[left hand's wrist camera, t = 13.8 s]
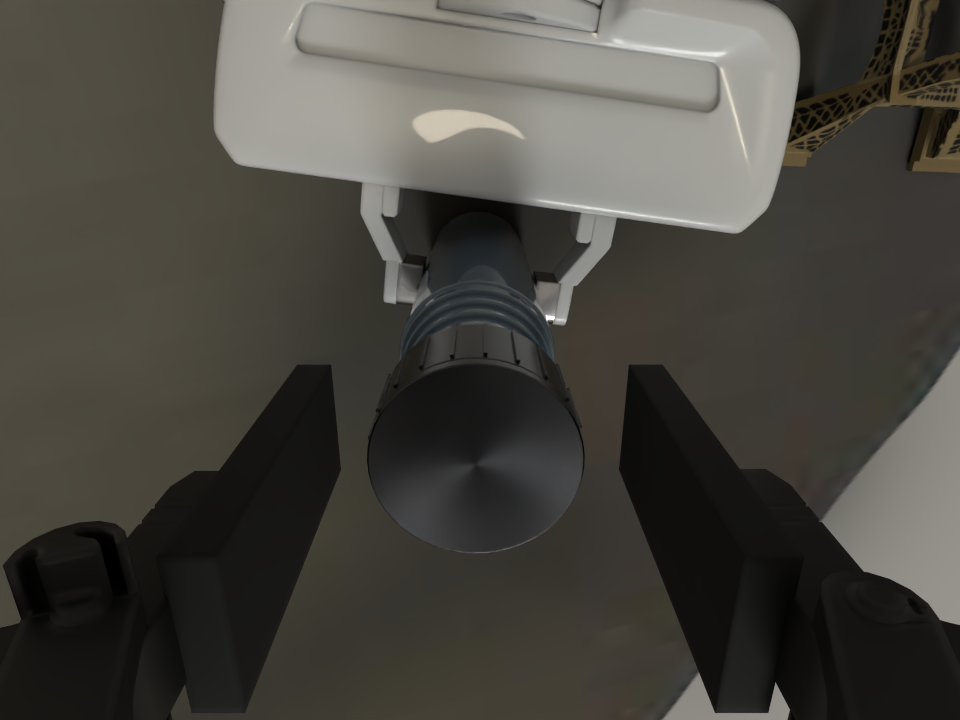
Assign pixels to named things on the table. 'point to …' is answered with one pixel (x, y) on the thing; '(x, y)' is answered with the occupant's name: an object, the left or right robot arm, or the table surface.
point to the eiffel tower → (892, 93)
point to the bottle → (477, 284)
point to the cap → (475, 441)
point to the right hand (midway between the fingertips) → (475, 310)
